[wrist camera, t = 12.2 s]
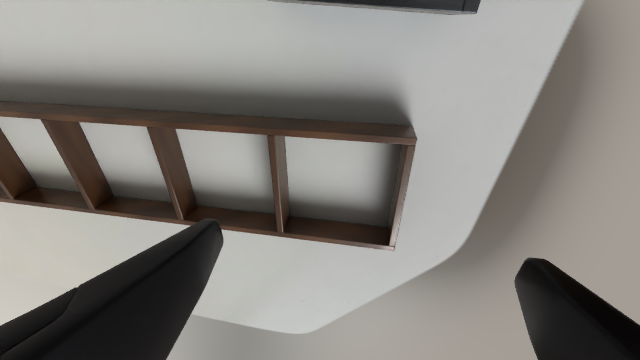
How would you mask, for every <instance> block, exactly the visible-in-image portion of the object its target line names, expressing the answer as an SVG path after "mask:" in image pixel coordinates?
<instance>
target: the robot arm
mask: <svg viewBox="0 0 640 360" xmlns="http://www.w3.org/2000/svg"><path fill="white" fill-rule="evenodd" d="M222 246H223V235H222V231H221V227H220V223H219V221H218V220H215V219H203V220H201V221H199V222H197V223H196V224H194V225H192V226H190V227H188V228H186V229H184V230H182V231H181V232H179V233H177V234H175V235H173V236H171V237H169V238H167V239H166V240H164V241H162V242H160V243H158V244H156V245H154V246H152V247H151V248H149V249H147V250H145V251H143V252H141V253H139V254H137V255H136V256H134V257H132V258H130V259H128V260H126V261H124V262H122V263H121V264H119V265H117V266H115V267H113V268H111V269H109V270H107V271H106V272H104V273H102V274H100V275H98V276H96V277H94V278H92V279H91V280H89V281H87V282H85V283H83V284H81V285H79V287H78V288H73V289H72V290H70V291H68V292H66V293H64V294H62V295H61V296H59V297H57V298H55V299H53V300H51V301H49V302H47V303H45V304H43V305H41V306H39V307H37V308H35V309H34V310H31V311H30V312H28V313H25V314H23V315H22V316H19V317H17V318H15V319H13V320H11V321H9V322H7V323H5V324H3V325H1V326H0V360H166V359H167V357H168V355H169V353H170V351H171V349H172V348H173V346H174V344H175V342H176V340H177V339H178V337H179V335H180V333H181V331H182V329H183V328H184V326H185V324H186V322H187V320H188V318H189V317H190V315H191V313H192V311H193V309H194V307H195V306H196V304H197V302H198V300H199V298H200V296H201V294H202V292H203V291H204V289H205V286H206V284H207V282H208V280H209V277H210V275H211V272H212V270H213V268H214V265H215V263H216V260H217V258H218V256H219V253H220V251H221V248H222ZM515 288H516V291H517V295H518V298H519V302H520V305H521V309H522V312H523V316H524V319H525V323H526V326H527V330H528V333H529V336H530V340H531V343H532V345H533V348H534V351H535V353H536V356H537V358H538V360H640V325H639V324H637V323H635V322H634V321H633V320H632V319H630V318H629V317H627V316H626V315H624V314H623V313H622V312H620V311H618V310H617V309H616V308H614V307H613V306H612V305H610V304H609V303H607V302H606V301H604V300H603V299H602V298H600V297H599V296H597V295H596V294H595V293H593V292H592V291H590V290H589V289H587V288H586V287H585V286H583V285H582V284H580V283H579V282H577V281H576V280H575V279H573V278H572V277H570V276H569V275H567V274H566V273H565V272H563V271H562V270H560V269H559V268H558V267H556V266H555V265H553V264H552V263H550V262H549V261H547V260H545V259H539V258H527V259H526V260H525V261H524V263H523V264H522V266H521V268H520V270H519V271H518V273H517V275H516V277H515Z"/></svg>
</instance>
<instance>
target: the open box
mask: <svg viewBox="0 0 640 360" xmlns="http://www.w3.org/2000/svg"><path fill="white" fill-rule="evenodd" d="M269 1H276V2H289V3H302V4H316V5H329V6H342V7H355V8H368V9H382V10H395V11H408V12H421V13H435V14H448V15H457V14H475V13H477V10H478V7H479V4H480V1H481V0H269Z"/></svg>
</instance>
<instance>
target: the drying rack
mask: <svg viewBox="0 0 640 360" xmlns="http://www.w3.org/2000/svg"><path fill="white" fill-rule="evenodd" d="M0 116H3V117H17V118H32V119H41V121H42V123H43V125H44V126H45V128H46V130H47V132H48V134H49V135H50V137H51V139H52V141H53V143H54V145H55V146H56V148H57V150H58V152H59V154H60V156H61V157H62V159H63V161H64V163H65V165H66V166H67V168H68V170H69V172H70V174H71V176H72V177H73V179H74V181H75V183H76V185H77V187H78V188H79V190H80V192H81V193H80V192H71V191H63V190H54V189H45V188H37V186H36V184H35V183H34V181H33V179H32V178H31V176H30V175H29V173H28V172H27V170H26V169H25V167H24V165H23V164H22V162H21V161H20V159H19V158H18V156H17V154H16V153H15V151H14V150H13V148H12V147H11V145H10V144H9V142H8V140H7V139H6V137H5V136H4V134H3V133H2V131H1V129H0V202H8V203H16V204H24V205H31V206H39V207H47V208H55V209H63V210H71V211H79V212H87V213H95V214H103V215H111V216H119V217H127V218H135V219H143V220H151V221H159V222H167V223H175V224H183V225H191V226H192V225H194V224H196V223H197V222H199V221H201V220H203V219H215V220H218V221H219V223H220V227H221V229H223V230H231V231H239V232H247V233H255V234H263V235H271V236H278V237H286V238H294V239H302V240H310V241H318V242H326V243H334V244H342V245H350V246H358V247H366V248H374V249H382V250H390V251H394V250H395V245H396V240H397V235H398V230H399V225H400V220H401V215H402V210H403V205H404V200H405V195H406V191H407V186H408V181H409V176H410V171H411V166H412V161H413V156H414V151H415V145H416V141H417V137H416V134H415V131H414V128H413V126H408V125H391V124H374V123H358V122H341V121H324V120H307V119H291V118H274V117H257V116H241V115H224V114H207V113H190V112H174V111H157V110H140V109H123V108H107V107H90V106H73V105H56V104H40V103H23V102H6V101H0ZM79 122H89V123H103V124H118V125H132V126H146V127H147V130H148V133H149V135H150V138H151V141H152V144H153V147H154V150H155V153H156V156H157V159H158V162H159V165H160V167H161V170H162V173H163V176H164V179H165V182H166V185H167V188H168V191H169V194H170V197H171V199H172V202H173V203H168V202H159V201H151V200H142V199H133V198H124V197H115V196H113V194H112V192H111V190H110V187H109V185H108V183H107V181H106V179H105V177H104V175H103V173H102V171H101V169H100V166H99V164H98V162H97V160H96V158H95V156H94V154H93V152H92V150H91V148H90V145H89V143H88V141H87V139H86V137H85V135H84V133H83V131H82V129H81V127H80V124H79ZM175 129H190V130H204V131H218V132H233V133H247V134H261V135H268V144H269V154H270V164H271V173H272V183H273V193H274V202H275V212H276V215H274V214H265V213H256V212H247V211H239V210H230V209H221V208H212V207H203V206H197V203H196V199H195V196H194V192H193V189H192V185H191V182H190V178H189V175H188V171H187V168H186V165H185V161H184V158H183V154H182V151H181V147H180V144H179V140H178V137H177V133H176V130H175ZM285 136H290V137H304V138H319V139H333V140H347V141H362V142H376V143H391V144H402V147H401V153H400V158H399V164H398V170H397V176H396V181H395V187H394V193H393V199H392V204H391V210H390V216H389V221H388V227H380V226H371V225H362V224H353V223H344V222H335V221H327V220H318V219H309V218H300V217H291V216H290V207H289V193H288V178H287V164H286V149H285Z"/></svg>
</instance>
